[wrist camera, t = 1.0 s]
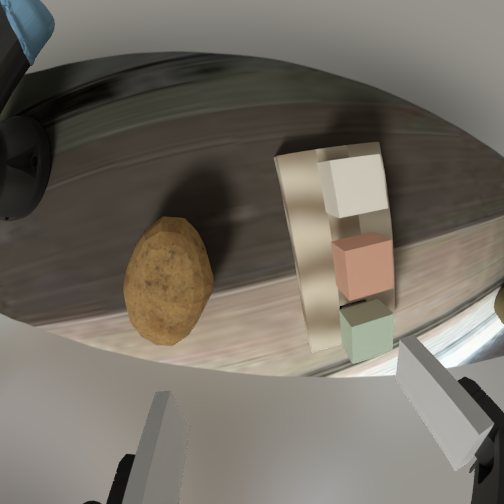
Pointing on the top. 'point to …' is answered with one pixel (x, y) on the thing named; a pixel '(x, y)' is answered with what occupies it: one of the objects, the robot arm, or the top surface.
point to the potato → (167, 281)
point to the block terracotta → (363, 265)
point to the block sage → (366, 330)
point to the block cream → (353, 185)
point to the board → (324, 238)
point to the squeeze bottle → (500, 305)
